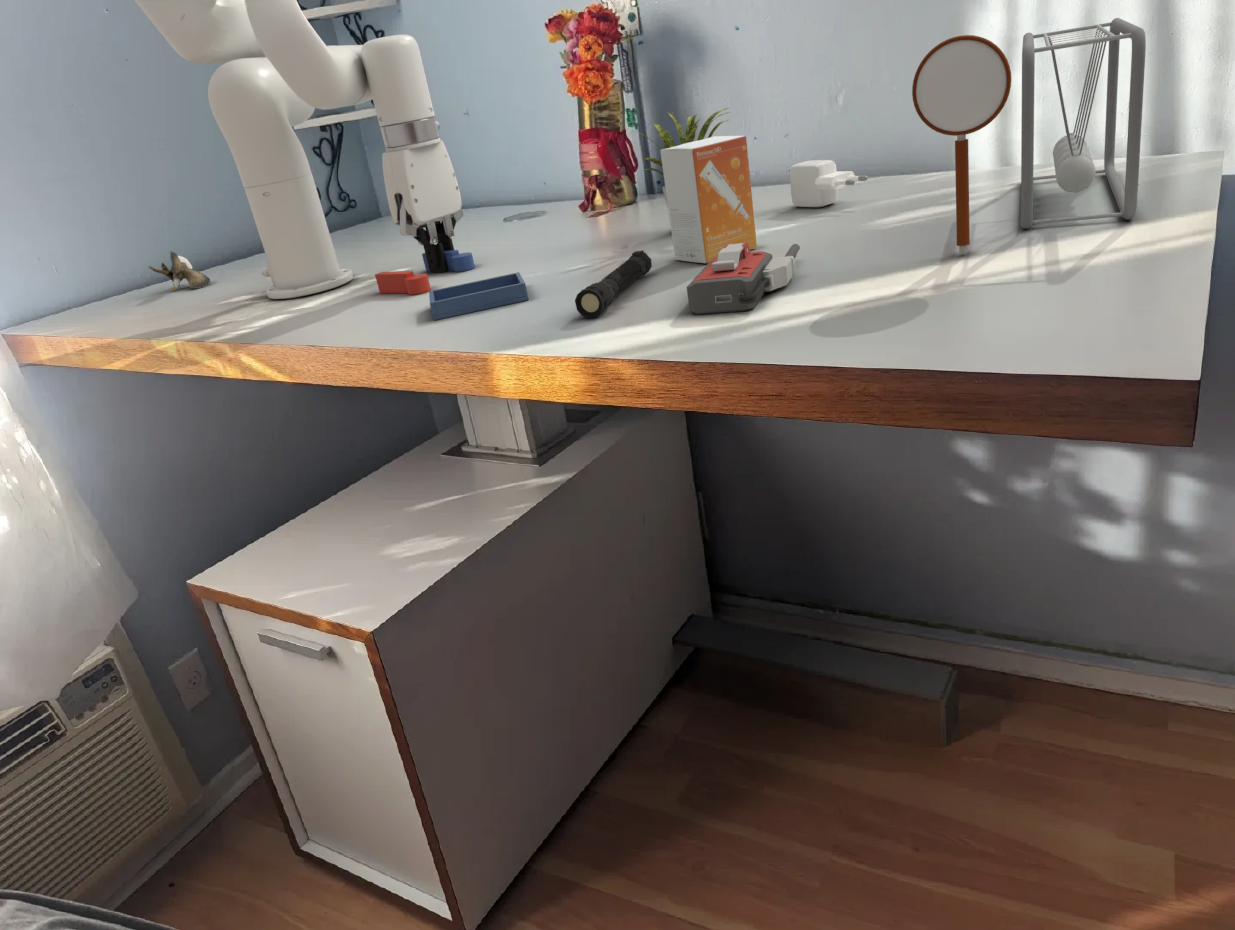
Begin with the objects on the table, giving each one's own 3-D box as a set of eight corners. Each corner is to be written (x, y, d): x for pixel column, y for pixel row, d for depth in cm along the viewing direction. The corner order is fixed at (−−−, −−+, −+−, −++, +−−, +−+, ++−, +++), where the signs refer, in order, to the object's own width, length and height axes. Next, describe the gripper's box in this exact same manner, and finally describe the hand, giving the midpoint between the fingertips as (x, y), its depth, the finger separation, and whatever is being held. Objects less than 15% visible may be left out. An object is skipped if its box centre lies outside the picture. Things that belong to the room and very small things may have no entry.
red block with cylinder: (375, 295, 124) (370, 276, 123) (391, 288, 126) (386, 270, 125) (419, 294, 119) (414, 275, 118) (435, 288, 121) (430, 268, 120)
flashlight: (577, 319, 94) (572, 290, 93) (631, 276, 108) (626, 251, 107) (605, 317, 93) (599, 288, 92) (655, 274, 107) (651, 248, 105)
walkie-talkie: (775, 312, 84) (806, 258, 101) (771, 265, 82) (803, 218, 99) (683, 319, 87) (728, 266, 104) (676, 273, 86) (723, 226, 102)
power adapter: (874, 202, 124) (871, 156, 122) (850, 210, 122) (847, 164, 119) (811, 200, 133) (808, 158, 130) (788, 208, 130) (784, 165, 128)
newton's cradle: (1136, 223, 91) (1147, 27, 84) (1020, 233, 95) (1021, 47, 88) (1113, 171, 116) (1120, 16, 109) (1022, 181, 120) (1023, 32, 113)
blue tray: (434, 320, 105) (429, 303, 104) (433, 307, 111) (429, 291, 110) (528, 299, 106) (525, 282, 105) (522, 288, 112) (519, 271, 111)
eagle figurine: (145, 289, 157) (167, 279, 151) (150, 249, 158) (173, 237, 152) (189, 301, 163) (213, 292, 157) (194, 262, 164) (218, 252, 158)
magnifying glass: (916, 259, 93) (908, 44, 85) (919, 255, 94) (912, 43, 86) (1009, 253, 89) (1010, 27, 81) (1011, 249, 90) (1012, 26, 82)
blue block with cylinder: (422, 273, 133) (417, 255, 132) (436, 267, 135) (432, 249, 134) (465, 271, 128) (460, 253, 127) (479, 265, 130) (474, 247, 129)
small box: (706, 265, 107) (691, 148, 101) (674, 260, 112) (658, 149, 107) (759, 247, 110) (747, 133, 105) (725, 244, 115) (712, 135, 110)
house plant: (771, 213, 129) (758, 89, 123) (727, 237, 119) (711, 103, 113) (682, 219, 137) (666, 102, 131) (634, 242, 127) (614, 117, 120)
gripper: (431, 129, 133) (461, 256, 140) (349, 148, 121) (387, 285, 129) (469, 123, 128) (498, 254, 136) (388, 142, 117) (424, 284, 125)
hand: (444, 268), depth 132 cm, fingers closed on blue block with cylinder, 1 cm apart
